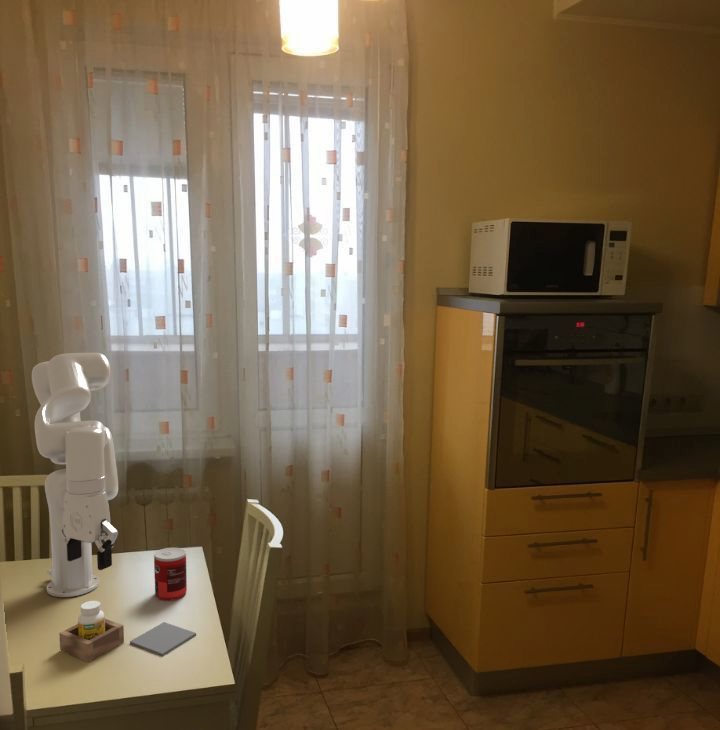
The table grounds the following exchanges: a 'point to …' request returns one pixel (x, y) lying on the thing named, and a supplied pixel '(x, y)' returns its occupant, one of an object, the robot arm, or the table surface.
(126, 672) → the table surface
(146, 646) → the rubber mat
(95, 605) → the supplement bottle
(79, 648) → the sleeve holder
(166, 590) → the canned food
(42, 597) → the table surface
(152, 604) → the table surface
